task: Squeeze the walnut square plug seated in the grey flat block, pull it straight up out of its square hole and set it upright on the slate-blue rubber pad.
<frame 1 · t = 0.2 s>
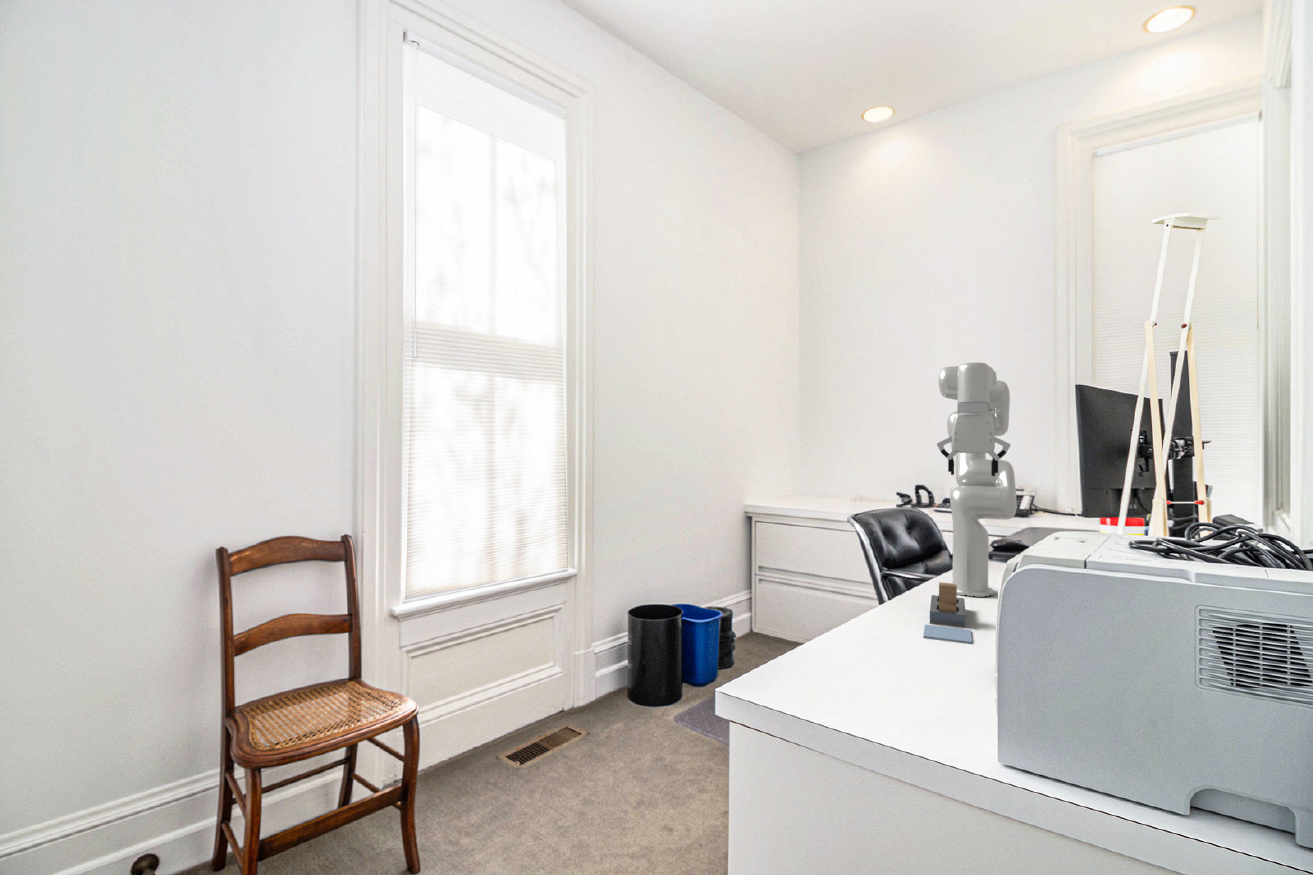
hand: (972, 475, 169), 36 cm above the table, tool pointing down, fingers open, 9 cm apart
pad: (947, 634, 151), on the table
plug: (947, 620, 162), resting in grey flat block
walkie-talkie: (1025, 679, 125), on the table
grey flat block: (947, 616, 166), on the table
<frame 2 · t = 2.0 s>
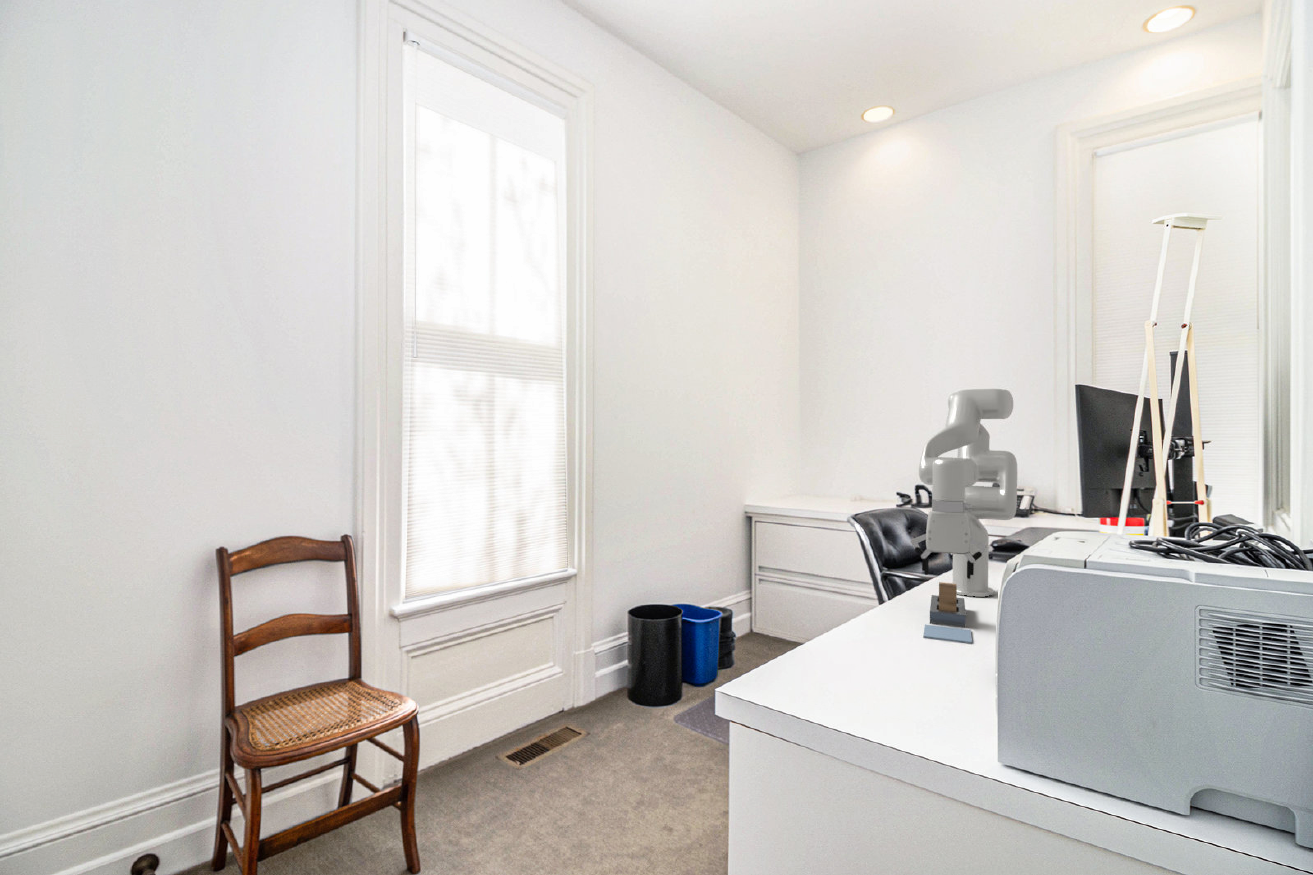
hand: (947, 575, 162), 11 cm above the table, tool pointing down, fingers open, 9 cm apart
nothing on the table moved.
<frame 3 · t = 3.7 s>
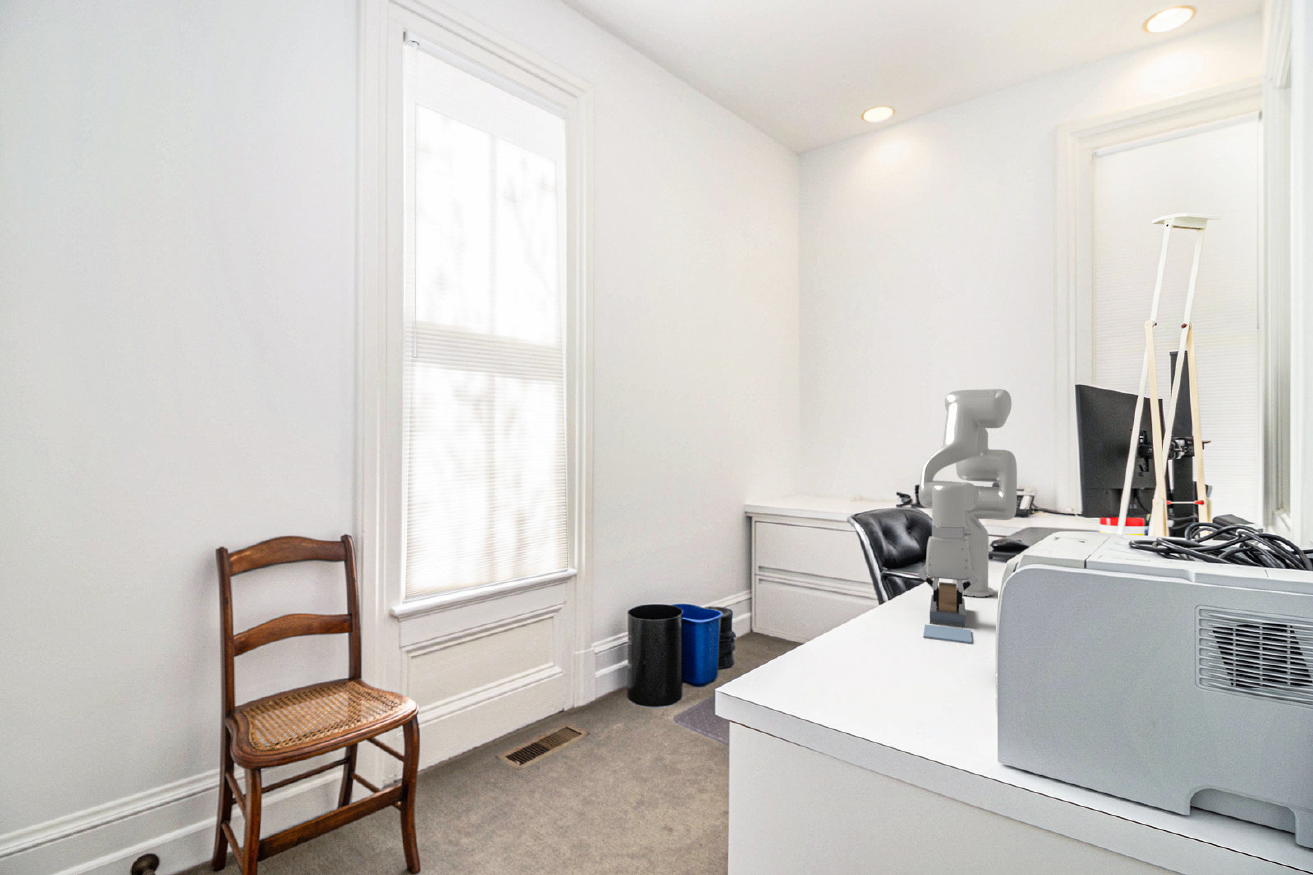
hand: (947, 605, 162), 4 cm above the table, tool pointing down, fingers closed on plug, 4 cm apart
plug: (947, 620, 162), resting in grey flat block, touching gripper
everything else where it was.
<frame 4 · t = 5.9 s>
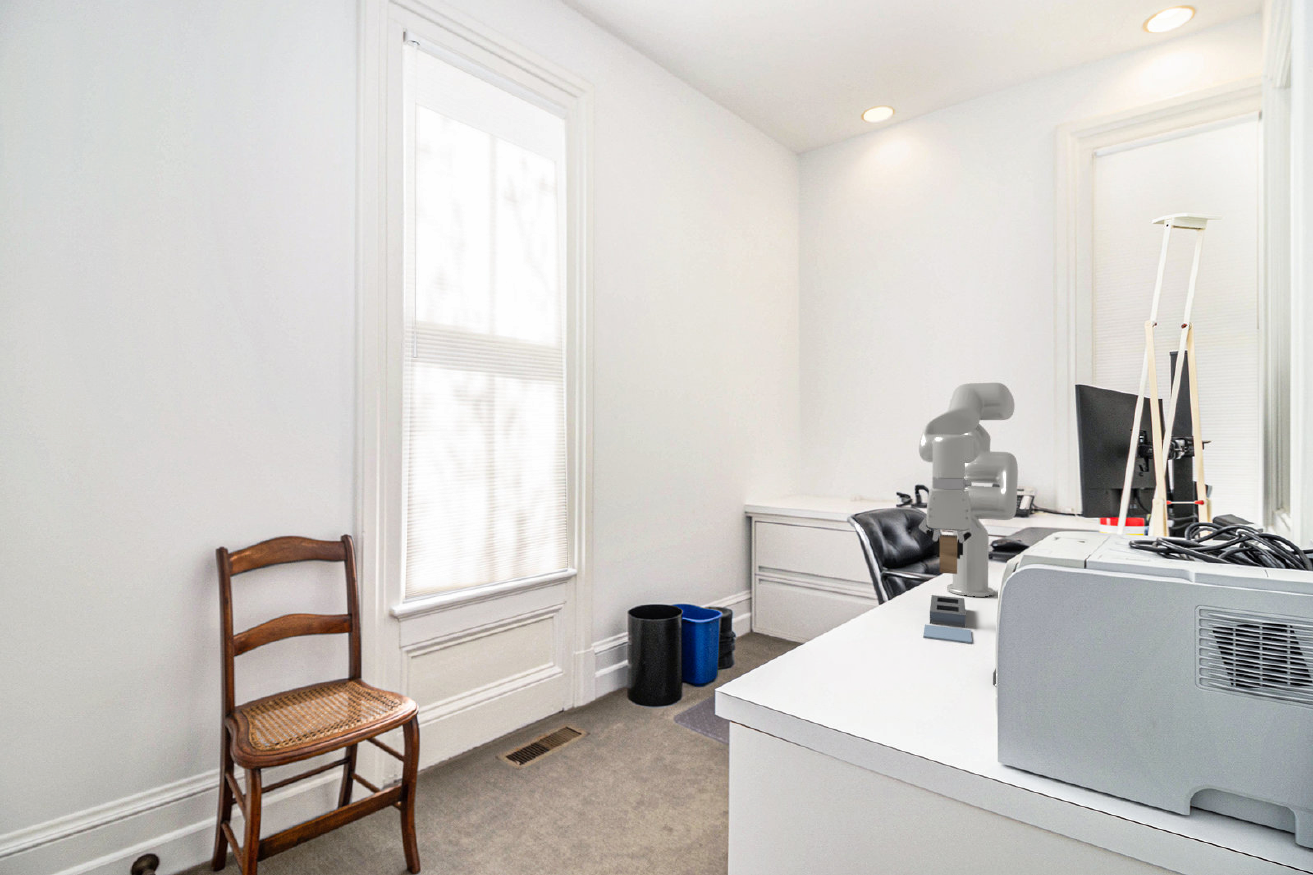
hand: (948, 556, 163), 16 cm above the table, tool pointing down, fingers closed on plug, 4 cm apart
plug: (948, 571, 163), point 12 cm above the table, touching gripper
everything else where it was.
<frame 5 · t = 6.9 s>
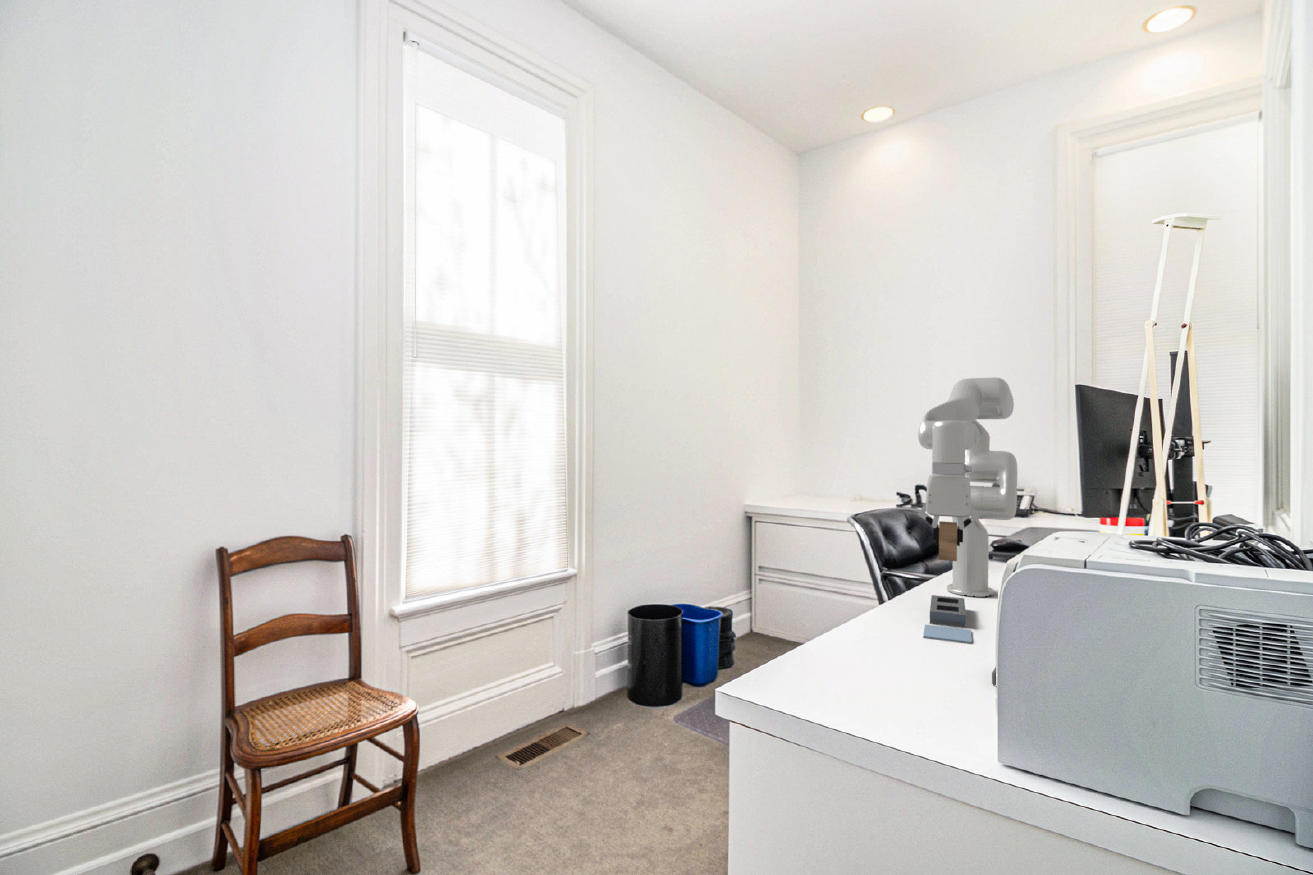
hand: (947, 543, 159), 20 cm above the table, tool pointing down, fingers closed on plug, 4 cm apart
plug: (947, 559, 159), point 16 cm above the table, touching gripper
everything else where it was.
when the fingers open (6 cm above the table, at t = 10.3 s): plug drops 2 cm, resting on pad.
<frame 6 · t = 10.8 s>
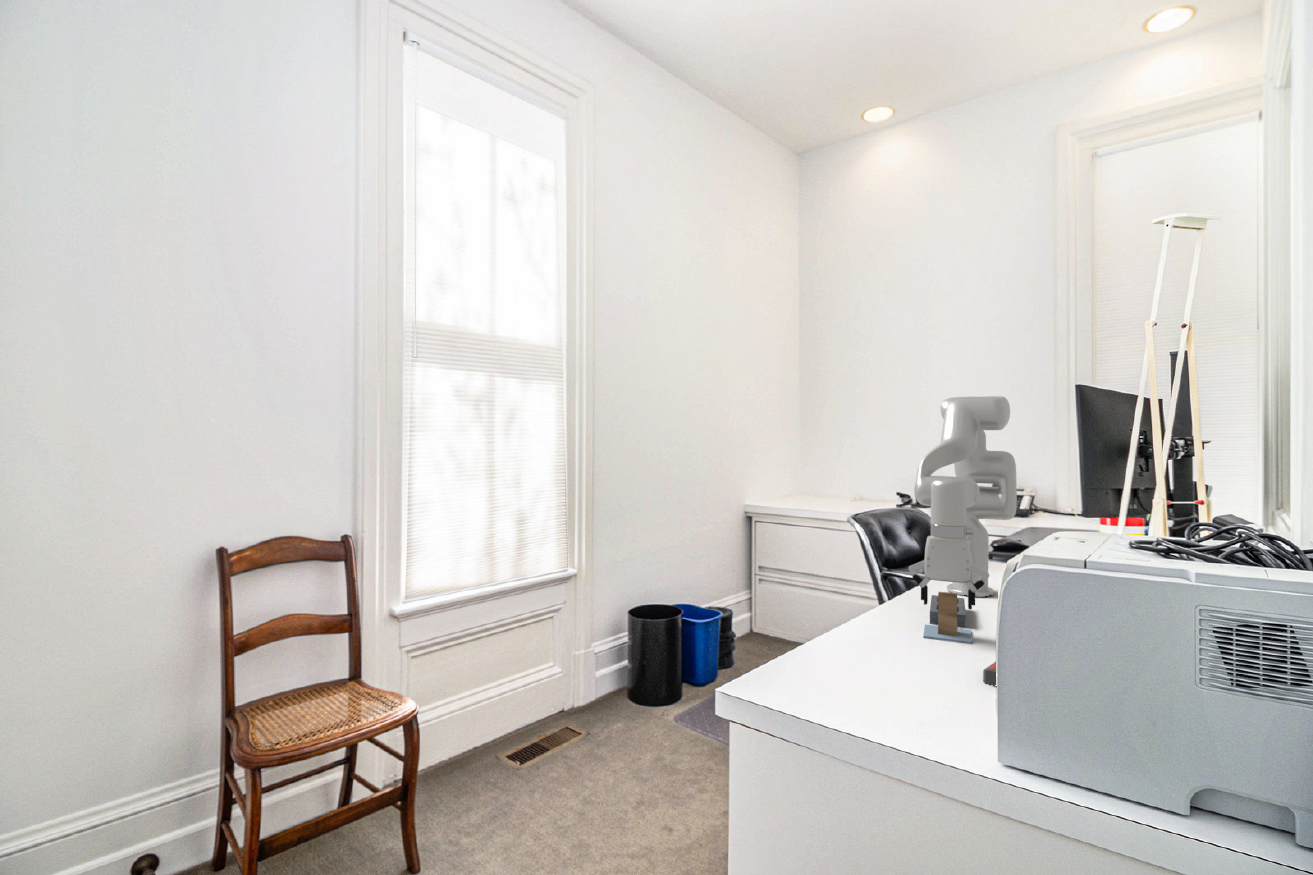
hand: (947, 605, 151), 7 cm above the table, tool pointing down, fingers open, 9 cm apart
plug: (947, 632, 151), resting on pad
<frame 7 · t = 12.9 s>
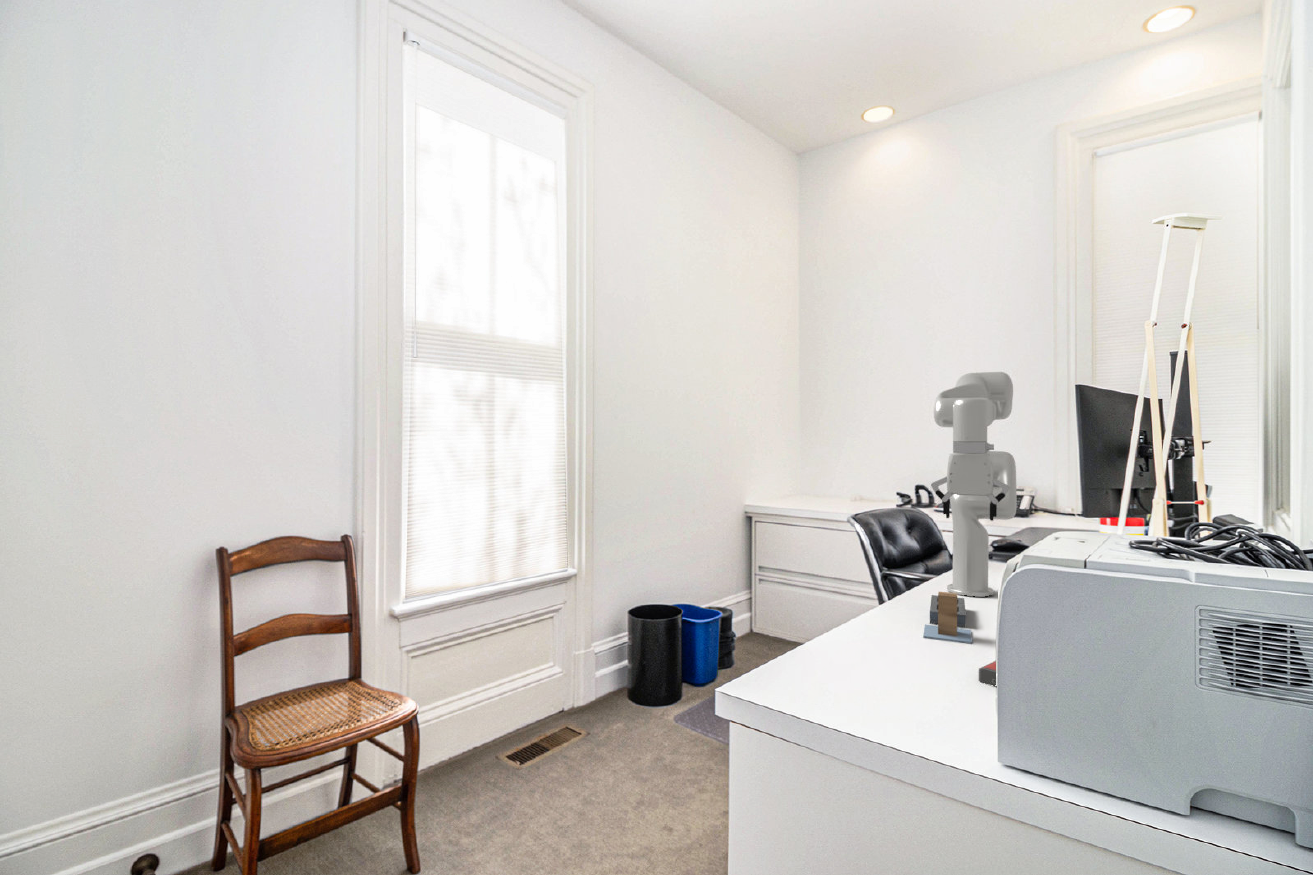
hand: (969, 518, 158), 26 cm above the table, tool pointing down, fingers open, 9 cm apart
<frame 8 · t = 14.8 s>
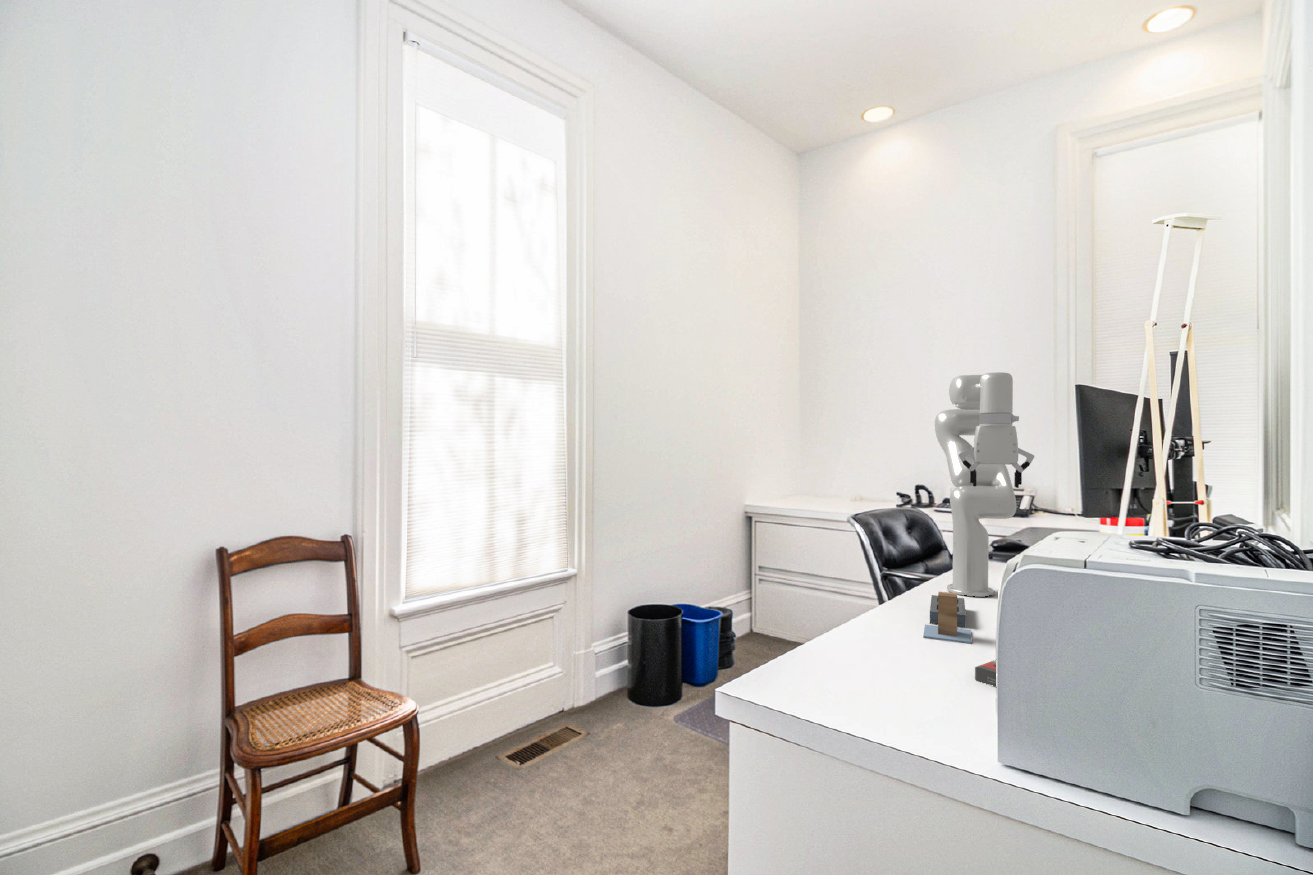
hand: (995, 486, 167), 33 cm above the table, tool pointing down, fingers open, 9 cm apart
at the end: plug 0.0 cm off-centre on the pad, point 0.4 cm above the pad's base; plug tilted 0°; the gripper is holding nothing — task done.
